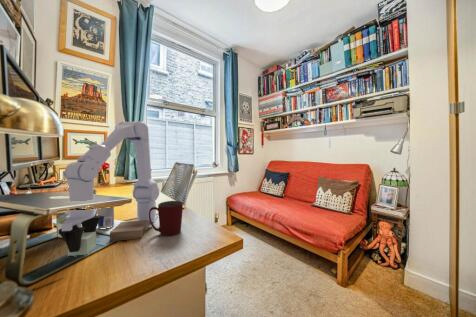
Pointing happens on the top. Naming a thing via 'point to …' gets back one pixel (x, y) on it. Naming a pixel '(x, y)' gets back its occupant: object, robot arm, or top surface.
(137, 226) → the walnut base
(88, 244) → the sage block
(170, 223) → the mug
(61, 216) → the syrup box
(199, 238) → the top surface
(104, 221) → the energy drink
